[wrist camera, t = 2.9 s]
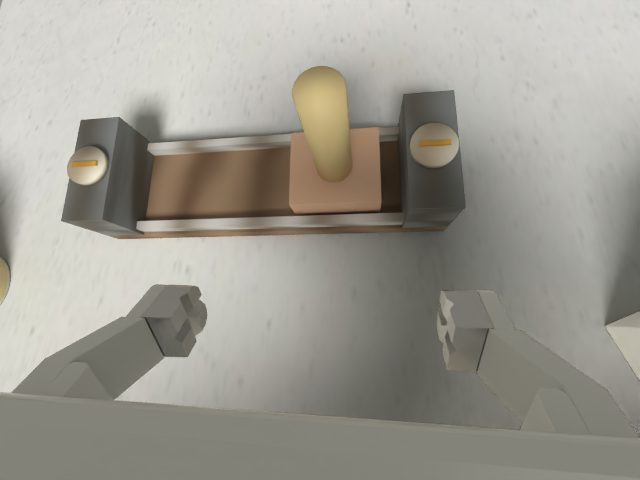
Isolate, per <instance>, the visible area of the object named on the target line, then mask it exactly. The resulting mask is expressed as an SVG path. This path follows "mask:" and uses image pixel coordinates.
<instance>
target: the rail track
mask: <svg viewBox="0 0 640 480" xmlns="http://www.w3.org/2000/svg"><path fill="white" fill-rule="evenodd" d="M379 146H380V173H381V200H382V201H381V208H380V212H367V213H337V214H308V215H296V214H295V213H294V211H293V210H292V208H291V207H290V206H289V185H290V153H291V134H281V135H267V136H252V137H237V138H222V139H207V140H192V141H177V142H162V143H151V142H149V141H148V140H147V139H146V138H144V137H143V136H142V135H141V134H139V133H138V132H137V131H136V130H135V129H133V128H132V127H131V126H130V125H128V124H127V123H126V122H125V121H123V120H122V119H121V118H120V117H113V118H101V119H88V120H81V122H80V127H79V132H78V138H77V143H76V148H75V153H74V154H73V155H72V157H71V158H70V160H69V162H68V166H67V172H68V176H69V177H70V178H69V183H68V189H67V194H66V199H65V204H64V209H63V214H62V219H61V221H63V222H66V223H69V224H73V225H76V226H79V227H82V228H85V229H89V230H92V231H95V232H98V233H101V234H105V235H108V236H111V237H114V238H117V239H140V238H179V237H218V236H258V235H297V234H337V233H376V232H415V231H444V230H445V229H446V228H447V227H448V225H449V224H450V223H451V222H452V221H453V220H454V219H455V218H456V217H457V216H458V215H459V214H460V212H461V211H462V210H463V209H464V208H465V196H464V186H463V176H462V166H461V156H460V146H459V135H458V125H457V115H456V105H455V95H454V90H451V91H438V92H426V93H413V94H404V95H403V101H402V107H401V113H400V118H399V124H398V127H385V128H379Z"/></svg>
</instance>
